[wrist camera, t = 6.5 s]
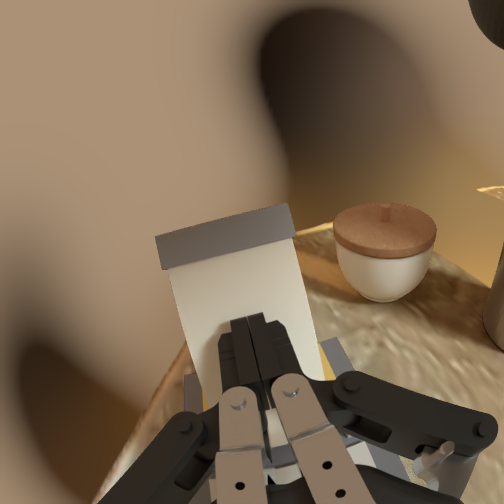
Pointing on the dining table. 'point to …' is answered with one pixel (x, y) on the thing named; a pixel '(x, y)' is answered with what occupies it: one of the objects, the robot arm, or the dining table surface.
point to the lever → (239, 290)
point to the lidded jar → (384, 248)
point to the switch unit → (282, 455)
